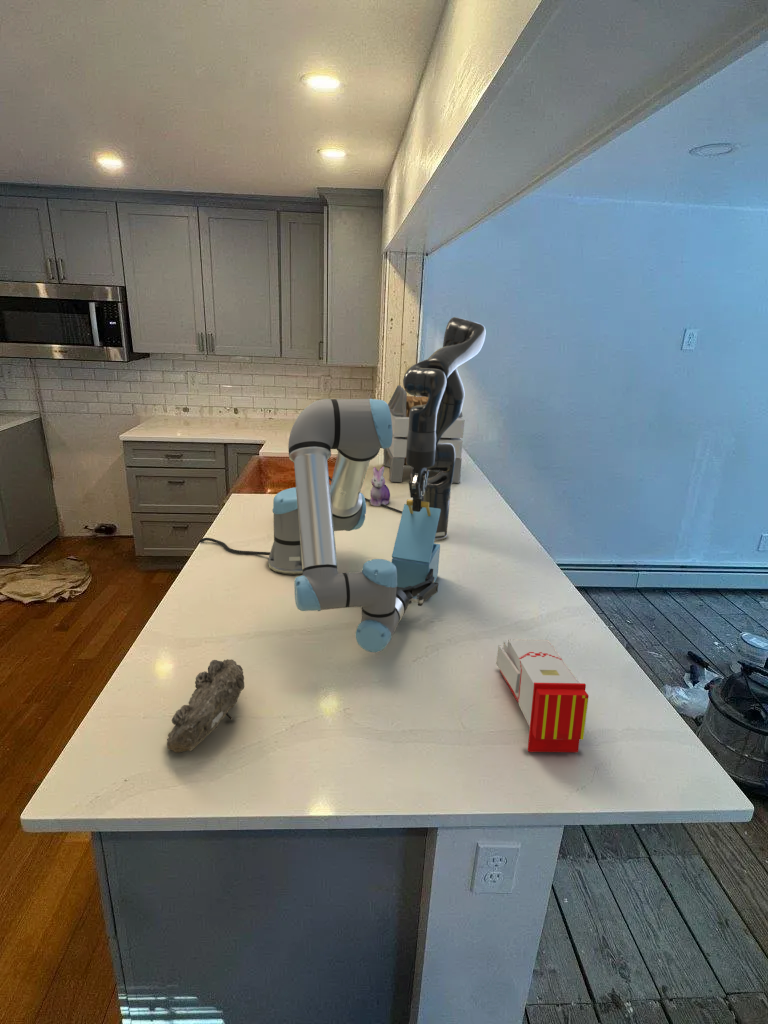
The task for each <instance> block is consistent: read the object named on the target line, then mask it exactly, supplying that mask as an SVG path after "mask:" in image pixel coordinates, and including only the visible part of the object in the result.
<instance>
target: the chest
mask: <svg viewBox="0 0 768 1024" xmlns="http://www.w3.org/2000/svg"><path fill="white" fill-rule="evenodd" d="M440 551H441V544H440V543H435V542H434V545H433V549H432V554H431V559H430V564H427V563H421V562H415V561H408V560H402V559H396V558H392V557H391V562H392V563H393V564H394V565H395V566H396V569H397V587H403V588H405V587H408V586H414V585H417V584H420V583H422V582H425V578H426V576H427V575H428V573H429V571H430V569H433V577H434V582H437V578H438V576H439V575H438V574H439V563H440V553H441V552H440ZM415 597H416V596H415Z"/></svg>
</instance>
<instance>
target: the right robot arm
mask: <svg viewBox="0 0 768 1024" xmlns="http://www.w3.org/2000/svg"><path fill="white" fill-rule="evenodd" d="M486 331H487V330H486V327H485V326H484V324H482V323H480V322H477V321H473V320H468V319H465V318H462V317H459V316H452V317H451V318H450V319H449V320H448V322H447V325H446V327H445V331H444V335H443V341H442V342H443V343H442V347H440V348H438V349H436V350H435V351H434V352H433V353H432V354H431V355H430V356H429V357H428V358H427V359H424V360H421V361H419V362H417V363H414V364H412V365H411V366H410V367H409V368H408V369H407V370H406V372H405V374H404V375H403V379H402V386H403V389H404V390H405V391H406V393H407V394H408V395H409V396H415V397H417V396H418V397H428V402H427V403H426V404H425V405H417V406H413V407H412V408H411V409H410V412H409V428H408V435H407V448H406V464H407V465H408V466H409V467H411V468H412V471H411V472H410V480H409V482H408V488H409V496H410V497H409V498H411V499H412V500H413V505H412V510H413V511H416V512H420V510H421V509H422V507H421V501H424V502H429V507H431V508H439V509H441V512H440V517H439V521H438V526H437V531H436V535H435V540H434V542H440V541H444V540H446V539H447V538H448V525H449V517H450V516H449V514H450V504H451V494H452V493H451V491H452V484H453V483H452V480H453V472H454V465H455V448H454V446H453V445H452V444H450V443H438V442H439V440H440V438H441V436H442V435H443V433H444V432H445V431H446V430H447V429H448V428H449V427H450V426H451V425H452V424H453V423H454V422H455V421H456V419H457V418H458V417H459V415H460V413H461V412H462V409H463V406H464V402H465V397H466V393H465V387H464V384H463V381H462V378H461V376H460V374H459V371H458V367H459V366H461V365H464V364H465V363H466V362H468V361H469V360H471V359H472V358H474V357H475V356H477V355H478V354H479V353H480V352H481V350H482V347H483V345H484V343H485V340H486V334H487V332H486ZM407 465H406V466H407ZM430 472H438V473H436V474H435V475H433V476H431V477H429V475H430ZM331 481H332V477H330V476H329V482H331ZM365 502H369V503H370V499H369V498H366V497H365ZM380 507H384V508H386V509H388V510H392V511H394V512H397V513H399V514H402V512H403V510H400V509H398V508H395V507H392V506H389V505H387V504H386V505H384V504H381V506H380Z"/></svg>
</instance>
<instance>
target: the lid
mask: <svg viewBox="0 0 768 1024" xmlns="http://www.w3.org/2000/svg"><path fill="white" fill-rule="evenodd" d="M412 505H413V499H406V503H404V505H403V509H402V511H403V512H402V513H401V516H400V520H399V524H398V528H397V532H396V538H395V541H394V545H393V549H392V554H391V559H392V558H396V559H402V560H408V561H415V562H421V563H427V564H430V559H431V554H432V549H433V545H434V543H435V541H434V540H435V535H436V531H437V526H438V521H439V517H440V512H441V509H439V508H431V507H429V502H424V501H421V507H422V509H421V510H420V512H416V511H413V510H412Z"/></svg>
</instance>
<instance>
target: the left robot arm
mask: <svg viewBox="0 0 768 1024" xmlns="http://www.w3.org/2000/svg"><path fill="white" fill-rule="evenodd" d="M287 444H288V447H287V448H288V459H289V460H290V461H291V462H292V463H293V466H294V479H295V480H294V481H295V487H290V488H286V489H283V490H281V491H278V492H277V493H276V494H275V496H274V497H273V505H272V513H273V543H272V546H271V550H270V551H254V550H239V549H233V548H232V547H231V548H230V547H229V546H228V545H227V544H226V543H225V542H224V541H221V540H218V539H215V538H211V537H203V538H201V539H200V540H198V543H199V544H201V543H203V542H206V541H207V542H208V541H209V542H213V543H216V544H219V545H220V546H222V547H223V548H224V549H225V550H226V551H228V552H231V553H233V554H239V555H241V554H242V555H257V556H258V555H259V556H268V561H267V562H268V565H267V566H268V568H269V569H270V570H271V571H273V572H276V573H278V574H282V575H290V576H291V575H294V576H295V575H299V576H296V577H295V578H294V580H293V581H294V583H293V587H294V589H293V590H294V602H295V607H296V608H297V610H299V611H300V612H313V611H314V612H315V611H317V612H321V611H326V610H327V611H328V610H338V609H347V608H348V609H349V608H359V607H360V608H361V618H360V623H358V625H357V628H356V631H355V635H354V636H355V640H356V643H357V645H358V646H359V647H360V648H361V649H363V650H364V651H366V652H369V653H379V652H382V651H383V650H384V649H386V647H387V646H388V644H389V643H390V642H391V640H392V638H393V635H394V633H395V632H396V629H397V628H398V626H399V624H400V622H401V620H402V618H403V616H404V615H405V613H406V611H407V610H408V607H409V605H411V604H412V603H416V604H417V606H419V607H422V606H424V603H425V602H426V601H428V600H430V599H431V598H432V597H433V596H434V595H435V594H437V593H438V591H439V582H437V581H435V582H434V577H433V569H430V571H429V573H428V575H427V576H426V578H425V582H422V583H420V584H417V585H414V586H408V587H405V588H403V587H397V569H396V566H395V565H394V564H393V563H392V561H390V560H387V559H383V558H374V559H371V560H367V561H365V562H364V563H363V565H362V569H361V571H352V572H350V571H349V572H339V569H338V559H337V549H336V538H335V532H340V531H341V532H344V531H346V532H351V531H355V530H359V529H361V528H362V526H363V525H364V523H365V520H366V514H367V503H366V502H367V501H366V500H365V498H366V497H365V495H364V494H363V493H362V492H361V491H362V487H363V485H364V481H365V478H366V476H367V471H368V468H369V465H370V462H371V461H372V460H373V459H375V458H376V457H377V456H378V455H379V452H380V451H381V449H382V450H384V449H385V448H389V447H390V446H391V444H392V420H391V414H390V409H389V406H388V403H387V402H386V401H385V400H383V399H374V398H321V399H318V400H315V401H313V402H311V403H310V404H309V405H306V407H305V408H304V409H303V410H302V411H301V412H300V413H299V414H298V415H297V417H296V419H295V421H294V422H293V425H292V427H291V430H290V433H289V437H288V443H287ZM332 450H336V451H337V455H336V459H335V464H334V468H333V473H332V477H331V479H332V481H330V479H329V477H330V474H329V464H328V460H329V459H330V458H331V457H332ZM415 596H416V597H415Z"/></svg>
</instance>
